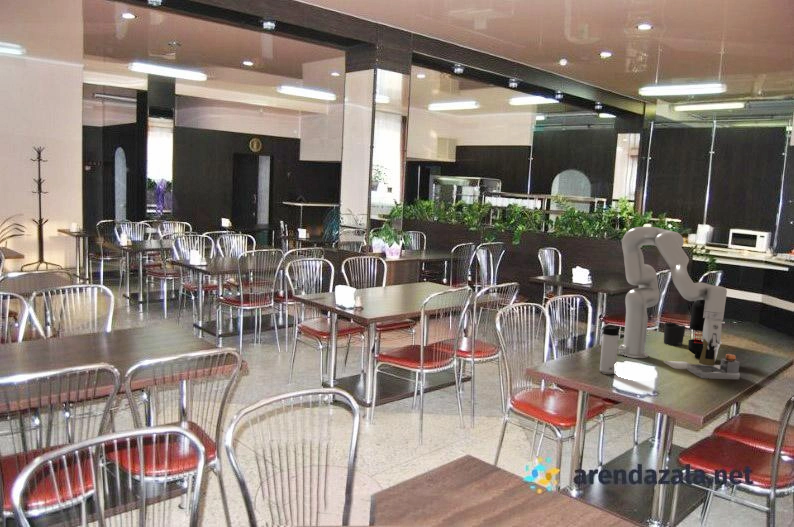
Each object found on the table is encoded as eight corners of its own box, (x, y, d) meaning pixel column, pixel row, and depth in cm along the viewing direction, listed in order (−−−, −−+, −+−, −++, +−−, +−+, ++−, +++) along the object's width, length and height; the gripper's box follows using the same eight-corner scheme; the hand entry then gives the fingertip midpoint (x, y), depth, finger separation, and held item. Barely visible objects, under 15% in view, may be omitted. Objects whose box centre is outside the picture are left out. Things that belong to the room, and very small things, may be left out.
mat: (674, 368, 263) (674, 367, 263) (663, 362, 273) (663, 360, 273) (696, 369, 263) (696, 368, 263) (685, 362, 273) (685, 361, 273)
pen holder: (665, 345, 305) (667, 326, 303) (660, 341, 314) (662, 322, 313) (685, 347, 303) (687, 327, 302) (679, 342, 312) (681, 323, 311)
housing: (701, 378, 250) (703, 361, 249) (686, 369, 262) (688, 354, 261) (739, 379, 251) (741, 362, 250) (722, 370, 263) (724, 355, 262)
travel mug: (614, 376, 248) (618, 328, 246) (597, 373, 252) (601, 326, 249) (617, 372, 253) (621, 326, 251) (601, 369, 257) (605, 323, 254)
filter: (705, 361, 276) (712, 297, 273) (684, 357, 282) (690, 294, 278) (711, 355, 287) (717, 293, 284) (690, 352, 293) (696, 291, 289)
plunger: (727, 369, 252) (729, 356, 251) (722, 367, 256) (724, 353, 255) (736, 369, 252) (737, 356, 251) (731, 367, 256) (732, 354, 255)
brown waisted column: (705, 365, 253) (709, 340, 252) (695, 361, 259) (699, 336, 257) (718, 365, 254) (721, 340, 253) (707, 361, 260) (711, 336, 259)
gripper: (729, 320, 245) (723, 364, 247) (717, 312, 261) (711, 353, 263) (709, 318, 246) (703, 362, 249) (698, 310, 262) (693, 351, 265)
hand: (707, 357), depth 256 cm, fingers closed on brown waisted column, 3 cm apart
